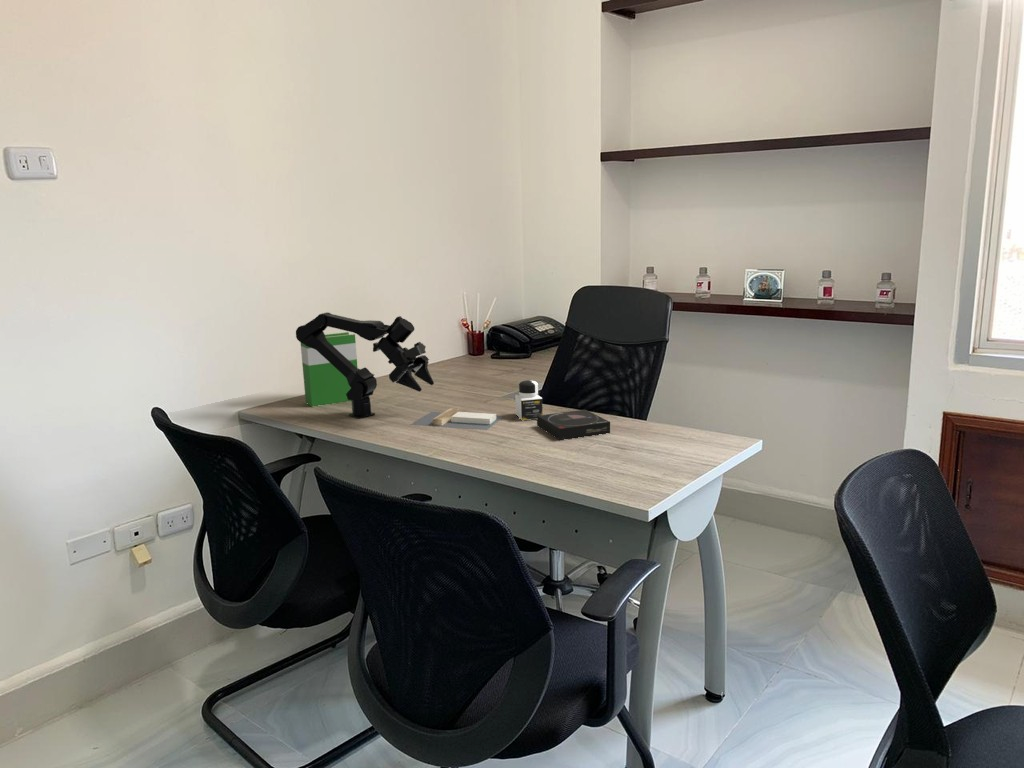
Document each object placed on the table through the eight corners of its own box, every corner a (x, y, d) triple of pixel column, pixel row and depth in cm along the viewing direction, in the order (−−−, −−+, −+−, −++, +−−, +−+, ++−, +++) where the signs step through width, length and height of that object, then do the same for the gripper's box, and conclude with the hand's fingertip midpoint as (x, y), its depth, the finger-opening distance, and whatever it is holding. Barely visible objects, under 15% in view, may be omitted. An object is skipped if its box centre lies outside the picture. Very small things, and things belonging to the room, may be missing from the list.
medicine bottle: (521, 421, 245) (520, 384, 242) (515, 415, 251) (514, 380, 249) (543, 419, 247) (542, 382, 244) (536, 413, 253) (535, 378, 251)
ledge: (433, 425, 241) (432, 419, 241) (450, 413, 254) (450, 408, 254) (441, 425, 240) (441, 419, 240) (459, 414, 253) (458, 408, 253)
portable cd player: (584, 421, 245) (584, 409, 244) (610, 434, 229) (610, 421, 228) (537, 427, 239) (536, 415, 238) (560, 442, 223) (559, 428, 222)
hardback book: (352, 396, 286) (347, 332, 280) (359, 399, 279) (355, 334, 274) (305, 403, 277) (300, 337, 271) (312, 407, 270) (306, 340, 265)
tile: (451, 416, 243) (489, 418, 239) (458, 411, 249) (496, 414, 245) (451, 422, 244) (489, 425, 239) (458, 417, 249) (496, 420, 245)
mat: (410, 425, 243) (410, 424, 243) (431, 413, 258) (431, 411, 258) (486, 431, 234) (486, 429, 234) (504, 417, 249) (504, 416, 249)
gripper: (395, 340, 236) (430, 377, 235) (422, 330, 254) (454, 365, 252) (374, 364, 241) (408, 400, 240) (401, 353, 258) (433, 387, 257)
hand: (426, 387), depth 247 cm, fingers open, 9 cm apart
